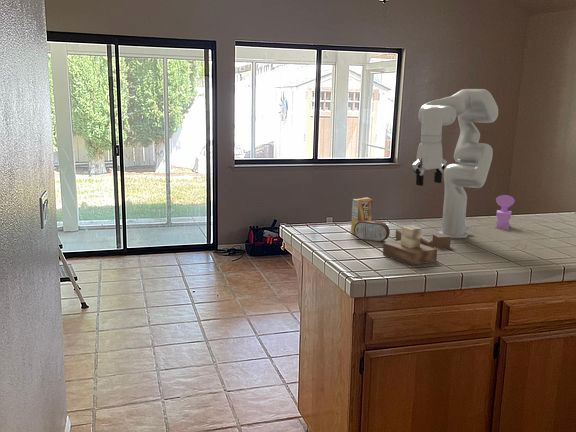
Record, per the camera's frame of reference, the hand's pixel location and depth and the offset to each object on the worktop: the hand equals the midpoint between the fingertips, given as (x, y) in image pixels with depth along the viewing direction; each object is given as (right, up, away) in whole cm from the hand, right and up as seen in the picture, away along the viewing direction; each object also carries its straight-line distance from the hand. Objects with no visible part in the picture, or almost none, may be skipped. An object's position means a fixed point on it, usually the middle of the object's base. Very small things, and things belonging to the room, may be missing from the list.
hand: (428, 183), depth 211 cm
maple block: (-9, -24, -8) cm, 26 cm away
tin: (-20, -23, +18) cm, 35 cm away
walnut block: (-9, -29, -7) cm, 31 cm away
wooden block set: (+1, -24, +15) cm, 28 cm away
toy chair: (+47, -18, +47) cm, 69 cm away
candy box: (-22, -20, +31) cm, 43 cm away
